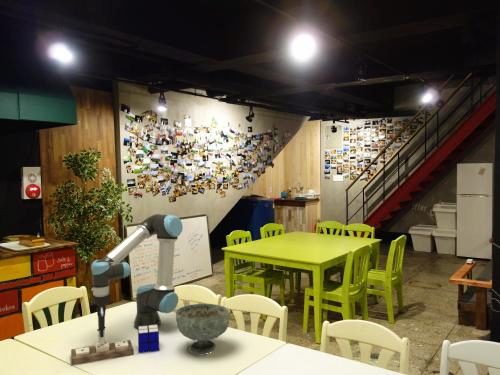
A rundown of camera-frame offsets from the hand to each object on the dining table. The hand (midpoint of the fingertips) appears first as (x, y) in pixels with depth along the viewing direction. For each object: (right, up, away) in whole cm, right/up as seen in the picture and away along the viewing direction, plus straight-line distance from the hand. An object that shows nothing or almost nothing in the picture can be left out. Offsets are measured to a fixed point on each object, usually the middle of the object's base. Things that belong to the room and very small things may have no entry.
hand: (101, 342), depth 208 cm
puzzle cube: (+21, -6, +8) cm, 23 cm away
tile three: (0, -4, 0) cm, 4 cm away
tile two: (+8, -5, +4) cm, 10 cm away
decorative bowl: (+49, -6, +7) cm, 49 cm away
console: (0, -6, 0) cm, 6 cm away
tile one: (-8, -5, -3) cm, 10 cm away
